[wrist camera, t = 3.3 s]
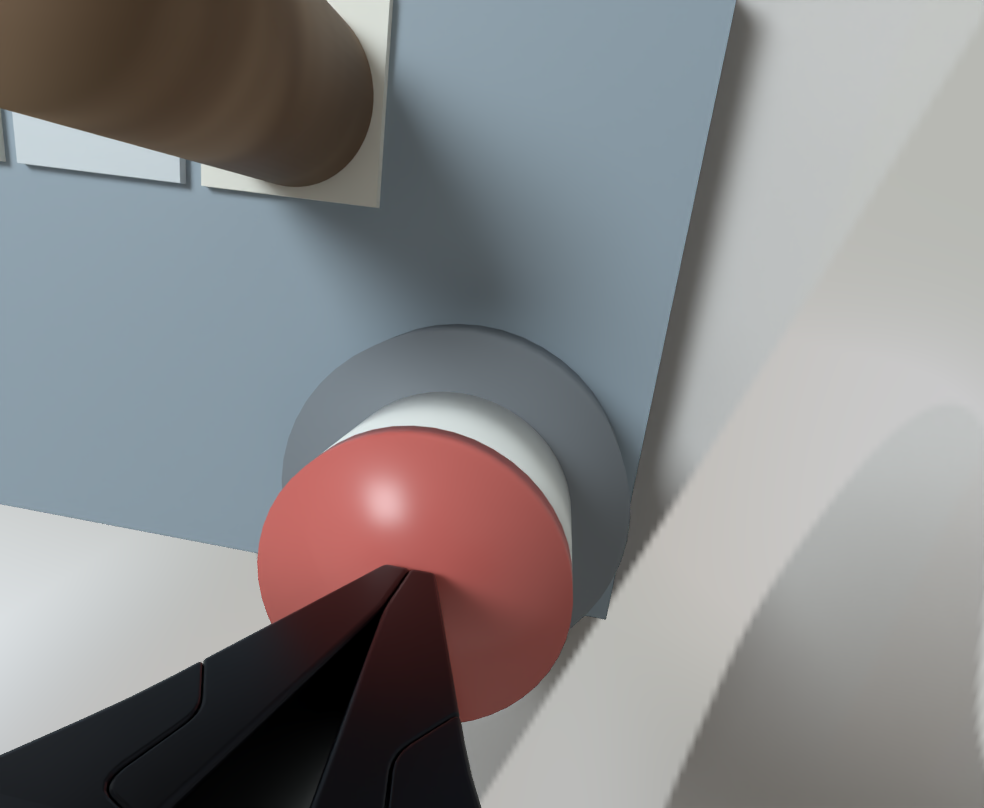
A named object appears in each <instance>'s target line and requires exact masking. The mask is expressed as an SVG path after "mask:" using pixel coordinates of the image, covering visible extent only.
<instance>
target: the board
mask: <svg viewBox="0 0 984 808" xmlns="http://www.w3.org/2000/svg"><path fill="white" fill-rule="evenodd" d="M326 1H327V2H328V3H329V4H330V5H331V6H332V7H333V8H334V9H335V10H336V12H337V13H338V14H339V15H340V16H341V17H342V18H343V19H344V20H345V22H346V23H347V24H348V25H349V26H350V28H351V29H352V30H353V32H354V33H355V35H356V36H357V38H358V39H359V41H360V43H361V45H362V47H363V49H364V51H365V54H366V57H367V60H368V62H369V66H370V70H371V74H372V81H373V90H374V101H373V111H372V118H371V122H370V126H369V129H368V132H367V135H366V137H365V140H364V142H363V144H362V145H361V147H360V149H359V151H358V152H357V154H356V155H355V156H354V158H353V159H352V160H351V161H350V162H349V164H348V165H347V166H346V167H345V168H344V169H342V170H341V171H340V172H339V173H337V174H336V175H334V176H333V177H331V178H329V179H328V180H325V181H323V182H320V183H318V184H314V185H310V186H303V187H288V186H282V185H277V184H274V183H270V182H266V181H263V180H259V179H255V178H252V177H248V176H245V175H241V174H237V173H234V172H230V171H226V170H223V169H219V168H216V167H212V166H208V165H205V164H201V163H197V162H194V161H190V160H186V159H183V158H179V157H176V156H172V155H168V154H165V153H161V152H157V151H154V150H150V149H146V148H143V147H139V146H136V145H132V144H128V143H125V142H121V141H117V140H114V139H110V138H106V137H103V136H99V135H96V134H92V133H88V132H85V131H81V130H77V129H74V128H70V127H66V126H63V125H59V124H56V123H52V122H48V121H45V120H41V119H37V118H34V117H30V116H27V115H23V114H19V113H16V112H12V111H8V110H5V109H1V108H0V504H2V505H8V506H13V507H19V508H24V509H29V510H34V511H39V512H44V513H50V514H55V515H60V516H66V517H71V518H77V519H82V520H86V521H92V522H97V523H102V524H107V525H113V526H118V527H123V528H129V529H134V530H139V531H144V532H149V533H155V534H160V535H165V536H171V537H176V538H181V539H186V540H191V541H197V542H202V543H207V544H212V545H218V546H223V547H228V548H233V549H239V550H244V551H249V552H254V553H258V548H259V541H260V537H261V532H262V528H263V525H264V522H265V520H266V517H267V515H268V512H269V510H270V508H271V506H272V505H273V503H274V501H275V499H276V498H277V496H278V494H279V493H280V492H281V490H282V489H283V488H284V487H285V486H286V484H287V483H288V482H289V481H290V479H291V478H293V477H294V476H295V475H296V474H297V473H298V472H299V471H300V470H301V469H303V468H304V467H305V466H306V465H307V464H309V463H310V462H311V461H313V460H314V459H315V458H316V457H318V456H319V455H320V454H322V453H323V452H324V451H325V450H327V449H328V448H329V447H331V446H332V445H333V444H334V443H336V442H337V441H338V440H340V439H341V438H342V437H343V436H345V435H346V434H347V433H349V432H350V431H351V430H353V429H354V428H355V427H356V426H358V425H359V424H360V423H362V422H363V421H364V420H365V419H367V418H368V417H369V416H371V415H372V414H373V413H375V412H376V411H378V410H379V409H381V408H382V407H384V406H386V405H388V404H390V403H392V402H394V401H397V400H399V399H402V398H405V397H408V396H412V395H416V394H422V393H428V392H455V393H464V394H468V395H473V396H477V397H480V398H483V399H486V400H489V401H491V402H494V403H496V404H498V405H500V406H502V407H504V408H506V409H508V410H510V411H511V412H513V413H514V414H516V415H517V416H519V417H520V418H522V419H523V420H524V421H525V422H527V423H528V424H529V425H530V426H531V427H532V428H533V429H534V430H536V431H537V433H538V434H539V435H540V436H541V437H542V438H543V439H544V441H545V442H546V443H547V444H548V446H549V447H550V449H551V450H552V452H553V453H554V455H555V456H556V458H557V460H558V462H559V464H560V466H561V468H562V470H563V473H564V476H565V479H566V482H567V485H568V490H569V495H570V501H571V529H572V579H573V607H572V616H571V623H570V627H569V628H571V627H572V626H573V625H575V624H576V623H577V622H578V621H579V620H580V619H581V618H583V617H584V616H590V617H595V618H600V619H606V616H607V612H608V607H609V602H610V597H611V593H612V588H613V583H614V578H615V574H616V571H617V569H618V567H619V564H620V562H621V559H622V556H623V553H624V549H625V546H626V542H627V537H628V530H629V523H630V502H631V498H632V493H633V488H634V483H635V479H636V474H637V469H638V464H639V460H640V455H641V450H642V445H643V441H644V436H645V431H646V426H647V422H648V417H649V412H650V407H651V403H652V398H653V393H654V388H655V384H656V379H657V374H658V369H659V365H660V360H661V355H662V350H663V346H664V341H665V336H666V331H667V327H668V322H669V317H670V312H671V308H672V303H673V298H674V293H675V289H676V284H677V279H678V274H679V270H680V265H681V260H682V255H683V251H684V246H685V241H686V236H687V232H688V227H689V222H690V217H691V213H692V208H693V203H694V198H695V194H696V189H697V184H698V179H699V175H700V170H701V165H702V160H703V156H704V151H705V146H706V141H707V137H708V132H709V127H710V122H711V118H712V113H713V108H714V103H715V99H716V94H717V89H718V84H719V80H720V75H721V70H722V65H723V61H724V56H725V51H726V46H727V42H728V37H729V32H730V27H731V23H732V18H733V13H734V8H735V4H736V0H326Z"/></svg>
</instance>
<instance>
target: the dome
mask: <svg viewBox="0 0 984 808" xmlns="http://www.w3.org/2000/svg"><path fill="white" fill-rule="evenodd" d="M257 564H258V580H259V585H260V590H261V595H262V599H263V602H264V606H265V609H266V612H267V615H268V617H269V619H270V621H271V623H274V622H276V621H278V620H280V619H282V618H284V617H286V616H288V615H289V614H291V613H293V612H295V611H297V610H299V609H301V608H303V607H305V606H306V605H308V604H310V603H312V602H314V601H316V600H318V599H320V598H322V597H324V596H325V595H327V594H329V593H331V592H333V591H335V590H337V589H339V588H341V587H343V586H344V585H346V584H348V583H350V582H352V581H354V580H356V579H358V578H360V577H362V576H363V575H365V574H367V573H369V572H371V571H373V570H375V569H377V568H379V567H380V566H383V565H386V564H388V565H393V566H398V567H404V568H407V569H408V570H409V572H410V571H411V570H420V571H425V572H430V573H433V574H435V576H436V581H437V587H438V593H439V599H440V604H441V610H442V616H443V622H444V628H445V634H446V639H447V645H448V651H449V657H450V663H451V669H452V674H453V680H454V686H455V692H456V698H457V703H458V709H459V715H460V717H459V718H460V720H461V722H466V721H472V720H476V719H479V718H482V717H485V716H488V715H491V714H494V713H496V712H498V711H500V710H502V709H504V708H507V707H508V706H510V705H512V704H513V703H515V702H516V701H518V700H520V699H521V698H523V697H524V696H525V695H526V694H527V693H529V692H530V691H531V690H532V689H533V688H535V687H536V686H537V685H538V684H539V682H540V681H541V680H542V679H543V678H544V677H545V676H546V675H547V673H548V672H549V671H550V669H551V668H552V666H553V665H554V663H555V661H556V660H557V658H558V657H559V655H560V652H561V650H562V648H563V646H564V643H565V641H566V638H567V634H568V631H569V627H570V623H571V616H572V607H573V579H572V529H571V501H570V495H569V490H568V485H567V482H566V479H565V476H564V473H563V470H562V468H561V466H560V464H559V462H558V460H557V458H556V456H555V455H554V453H553V452H552V450H551V449H550V447H549V446H548V444H547V443H546V442H545V441H544V439H543V438H542V437H541V436H540V435H539V434H538V433H537V431H536V430H534V429H533V428H532V427H531V426H530V425H529V424H528V423H527V422H525V421H524V420H523V419H522V418H520V417H519V416H517V415H516V414H514V413H513V412H511V411H510V410H508V409H506V408H504V407H502V406H500V405H498V404H496V403H494V402H491V401H489V400H486V399H483V398H480V397H477V396H473V395H468V394H464V393H455V392H428V393H422V394H416V395H412V396H408V397H405V398H402V399H399V400H397V401H394V402H392V403H390V404H388V405H386V406H384V407H382V408H381V409H379V410H378V411H376V412H375V413H373V414H372V415H371V416H369V417H368V418H367V419H365V420H364V421H363V422H362V423H360V424H359V425H358V426H356V427H355V428H354V429H353V430H351V431H350V432H349V433H347V434H346V435H345V436H343V437H342V438H341V439H340V440H338V441H337V442H336V443H334V444H333V445H332V446H331V447H329V448H328V449H327V450H325V451H324V452H323V453H322V454H320V455H319V456H318V457H316V458H315V459H314V460H313V461H311V462H310V463H309V464H307V465H306V466H305V467H304V468H303V469H301V470H300V471H299V472H298V473H297V474H296V475H295V476H294V477H293V478H291V479H290V481H289V482H288V483H287V484H286V486H285V487H284V488H283V489H282V490H281V492H280V493H279V494H278V496H277V498H276V499H275V501H274V503H273V505H272V506H271V508H270V510H269V512H268V515H267V517H266V520H265V522H264V525H263V528H262V532H261V537H260V541H259V548H258V560H257Z"/></svg>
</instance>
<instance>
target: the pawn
mask: <svg viewBox="0 0 984 808" xmlns="http://www.w3.org/2000/svg"><path fill="white" fill-rule="evenodd" d="M373 101H374V90H373V81H372V74H371V70H370V66H369V62H368V60H367V57H366V54H365V51H364V49H363V47H362V45H361V43H360V41H359V39H358V38H357V36H356V35H355V33H354V32H353V30H352V29H351V28H350V26H349V25H348V24H347V23H346V22H345V20H344V19H343V18H342V17H341V16H340V15H339V14H338V13H337V12H336V10H335V9H334V8H333V7H332V6H331V5H330V4H329V3H328V2H327V1H326V0H0V108H1V109H5V110H8V111H12V112H16V113H19V114H23V115H27V116H30V117H34V118H37V119H41V120H45V121H48V122H52V123H56V124H59V125H63V126H66V127H70V128H74V129H77V130H81V131H85V132H88V133H92V134H96V135H99V136H103V137H106V138H110V139H114V140H117V141H121V142H125V143H128V144H132V145H136V146H139V147H143V148H146V149H150V150H154V151H157V152H161V153H165V154H168V155H172V156H176V157H179V158H183V159H186V160H190V161H194V162H197V163H201V164H205V165H208V166H212V167H216V168H219V169H223V170H226V171H230V172H234V173H237V174H241V175H245V176H248V177H252V178H255V179H259V180H263V181H266V182H270V183H274V184H277V185H282V186H288V187H303V186H310V185H314V184H318V183H320V182H323V181H325V180H328V179H329V178H331V177H333V176H334V175H336V174H337V173H339V172H340V171H341V170H342V169H344V168H345V167H346V166H347V165H348V164H349V162H350V161H351V160H352V159H353V158H354V156H355V155H356V154H357V152H358V151H359V149H360V147H361V145H362V144H363V142H364V140H365V137H366V135H367V132H368V129H369V126H370V122H371V118H372V111H373Z"/></svg>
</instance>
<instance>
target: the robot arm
mask: <svg viewBox="0 0 984 808" xmlns="http://www.w3.org/2000/svg"><path fill="white" fill-rule="evenodd" d="M459 717H460V715H459V709H458V703H457V698H456V692H455V686H454V680H453V674H452V669H451V663H450V657H449V651H448V645H447V639H446V634H445V628H444V622H443V616H442V610H441V604H440V599H439V593H438V587H437V581H436V576H435V574H433V573H430V572H425V571H420V570H411V571H410V572H409V570H408V569H407V568H404V567H398V566H393V565H388V564H386V565H383V566H380V567H379V568H377V569H375V570H373V571H371V572H369V573H367V574H365V575H363V576H362V577H360V578H358V579H356V580H354V581H352V582H350V583H348V584H346V585H344V586H343V587H341V588H339V589H337V590H335V591H333V592H331V593H329V594H327V595H325V596H324V597H322V598H320V599H318V600H316V601H314V602H312V603H310V604H308V605H306V606H305V607H303V608H301V609H299V610H297V611H295V612H293V613H291V614H289V615H288V616H286V617H284V618H282V619H280V620H278V621H276V622H274V623H272V624H270V625H269V626H267V627H265V628H263V629H261V630H259V631H257V632H255V633H253V634H252V635H250V636H248V637H246V638H244V639H242V640H240V641H238V642H236V643H235V644H233V645H231V646H229V647H227V648H225V649H223V650H221V651H219V652H217V653H216V654H214V655H212V656H210V657H208V658H206V659H205V660H204V662H203V663H201V662H198V663H196V664H194V665H192V666H191V667H188V668H187V669H185V670H183V671H181V672H179V673H177V674H175V675H173V676H171V677H169V678H168V679H166V680H163V681H162V682H159V683H157V684H156V685H153V686H151V687H149V688H148V689H145V690H143V691H141V692H139V693H137V694H135V695H133V696H132V697H129V698H127V699H125V700H123V701H121V702H118V703H116V704H114V705H112V706H110V707H108V708H105V709H103V710H101V711H99V712H97V713H95V714H93V715H90V716H88V717H86V718H84V719H81V720H79V721H77V722H75V723H73V724H70V725H68V726H66V727H63V728H61V729H59V730H57V731H54V732H52V733H50V734H47V735H45V736H43V737H41V738H38V739H36V740H34V741H32V742H30V743H27V744H25V745H22V746H20V747H18V748H16V749H14V750H11V751H9V752H7V753H4V754H2V755H0V808H481V805H480V802H479V798H478V795H477V792H476V788H475V785H474V781H473V778H472V774H471V770H470V765H469V761H468V756H467V751H466V747H465V742H464V736H463V731H462V725H461V720H460V718H459Z"/></svg>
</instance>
